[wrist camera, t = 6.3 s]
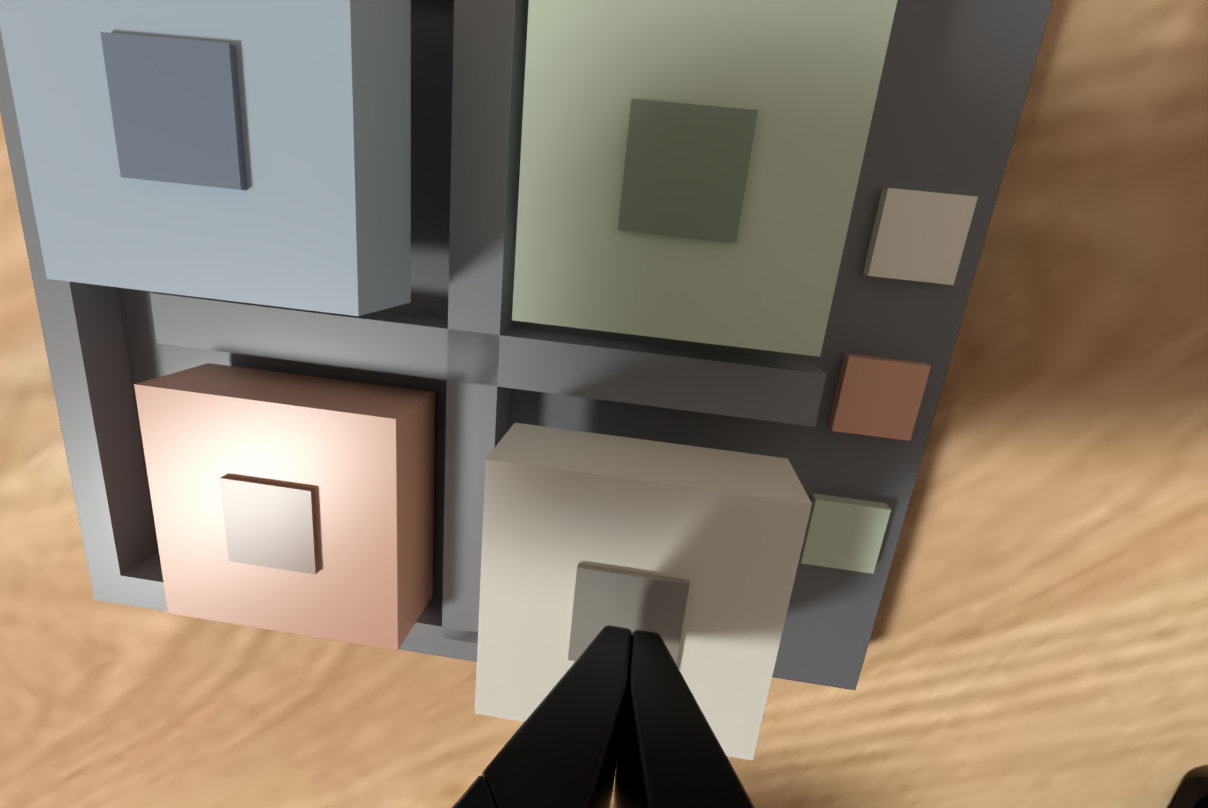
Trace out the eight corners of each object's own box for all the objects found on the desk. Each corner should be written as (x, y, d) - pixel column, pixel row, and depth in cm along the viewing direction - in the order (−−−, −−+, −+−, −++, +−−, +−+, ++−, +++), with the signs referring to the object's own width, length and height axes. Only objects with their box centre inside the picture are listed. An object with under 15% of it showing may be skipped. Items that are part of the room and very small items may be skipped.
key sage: (856, 34, 9) (903, -15, 7) (795, 337, 11) (821, 358, 9) (554, 11, 10) (528, -42, 8) (535, 306, 11) (510, 321, 9)
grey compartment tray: (1013, 13, 10) (1102, -44, 8) (840, 654, 14) (869, 725, 12) (84, -57, 12) (-45, -122, 9) (170, 550, 16) (94, 599, 14)
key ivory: (788, 458, 10) (813, 507, 8) (740, 683, 12) (754, 766, 10) (515, 422, 11) (483, 462, 9) (502, 645, 12) (472, 718, 10)
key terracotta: (435, 392, 12) (392, 421, 10) (432, 597, 13) (395, 654, 12) (208, 362, 12) (127, 385, 10) (230, 565, 14) (162, 616, 12)
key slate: (410, -29, 9) (342, -99, 7) (410, 302, 10) (353, 317, 8) (105, -51, 9) (-39, -124, 7) (147, 271, 10) (38, 279, 9)
